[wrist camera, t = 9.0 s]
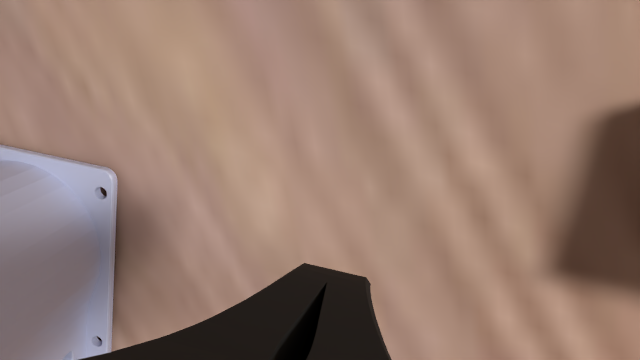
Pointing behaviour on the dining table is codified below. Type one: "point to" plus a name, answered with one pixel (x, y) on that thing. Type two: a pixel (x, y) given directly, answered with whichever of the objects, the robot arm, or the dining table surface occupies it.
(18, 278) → the robot arm
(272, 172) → the dining table surface
